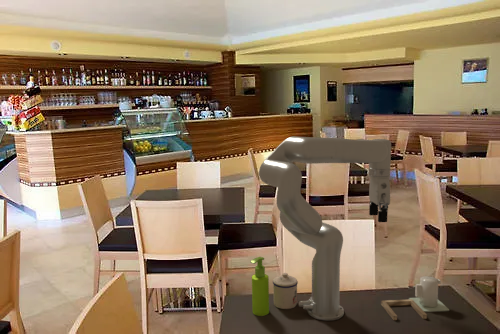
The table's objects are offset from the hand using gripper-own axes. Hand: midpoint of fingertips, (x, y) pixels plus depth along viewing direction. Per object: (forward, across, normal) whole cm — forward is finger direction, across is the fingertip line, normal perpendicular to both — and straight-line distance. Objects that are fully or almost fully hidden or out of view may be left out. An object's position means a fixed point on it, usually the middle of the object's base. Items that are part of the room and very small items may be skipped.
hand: (377, 218), depth 153 cm
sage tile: (+30, -9, -16) cm, 35 cm away
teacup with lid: (+31, -3, +35) cm, 47 cm away
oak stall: (+30, -13, -5) cm, 33 cm away
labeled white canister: (+29, -9, -16) cm, 35 cm away
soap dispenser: (+31, -10, +45) cm, 55 cm away
